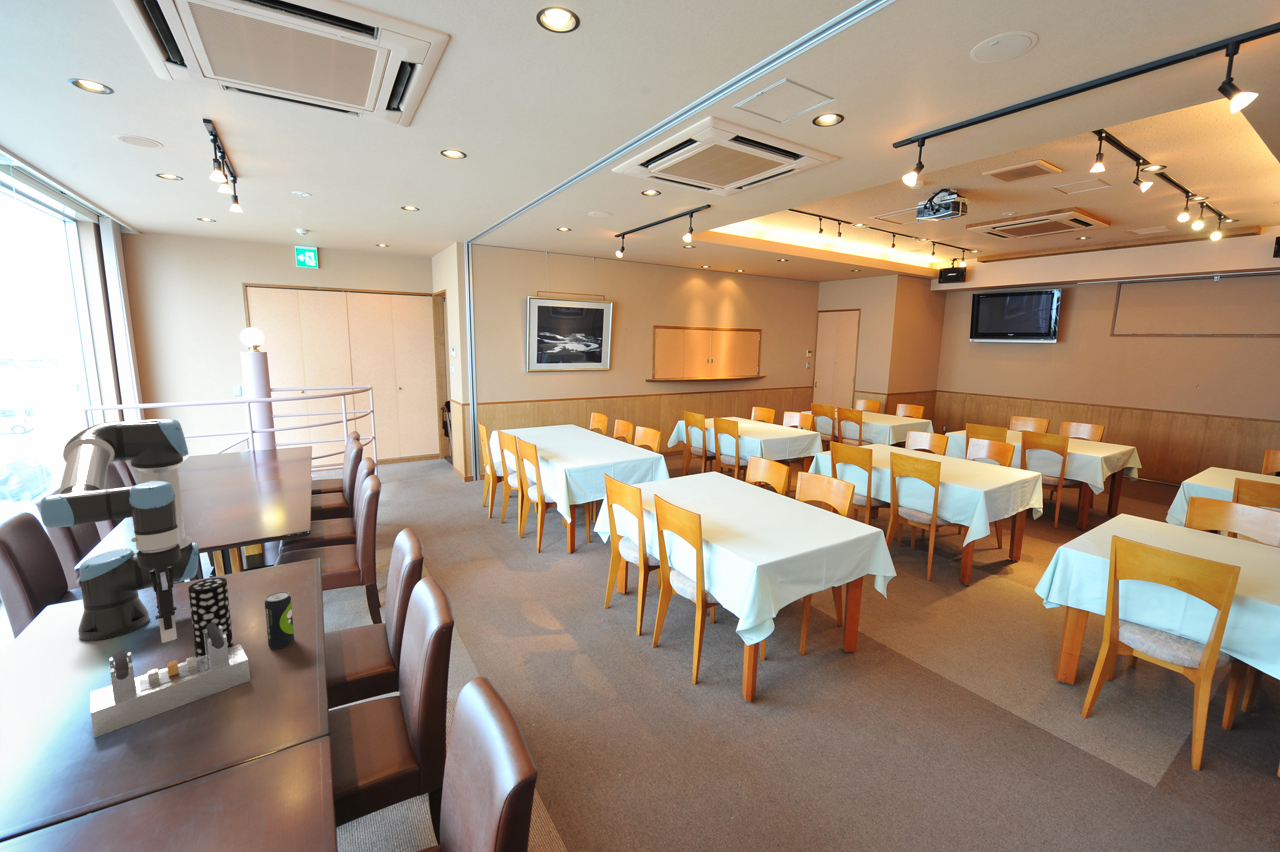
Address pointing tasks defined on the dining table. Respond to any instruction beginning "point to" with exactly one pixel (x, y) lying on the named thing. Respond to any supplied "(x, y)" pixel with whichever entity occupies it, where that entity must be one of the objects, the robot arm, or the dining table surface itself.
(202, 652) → the spotted tube
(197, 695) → the white parts holder tray
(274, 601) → the beverage can
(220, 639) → the dark grey rod
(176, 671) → the breaker paddle
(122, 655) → the dark grey bar handle
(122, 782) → the dining table surface
